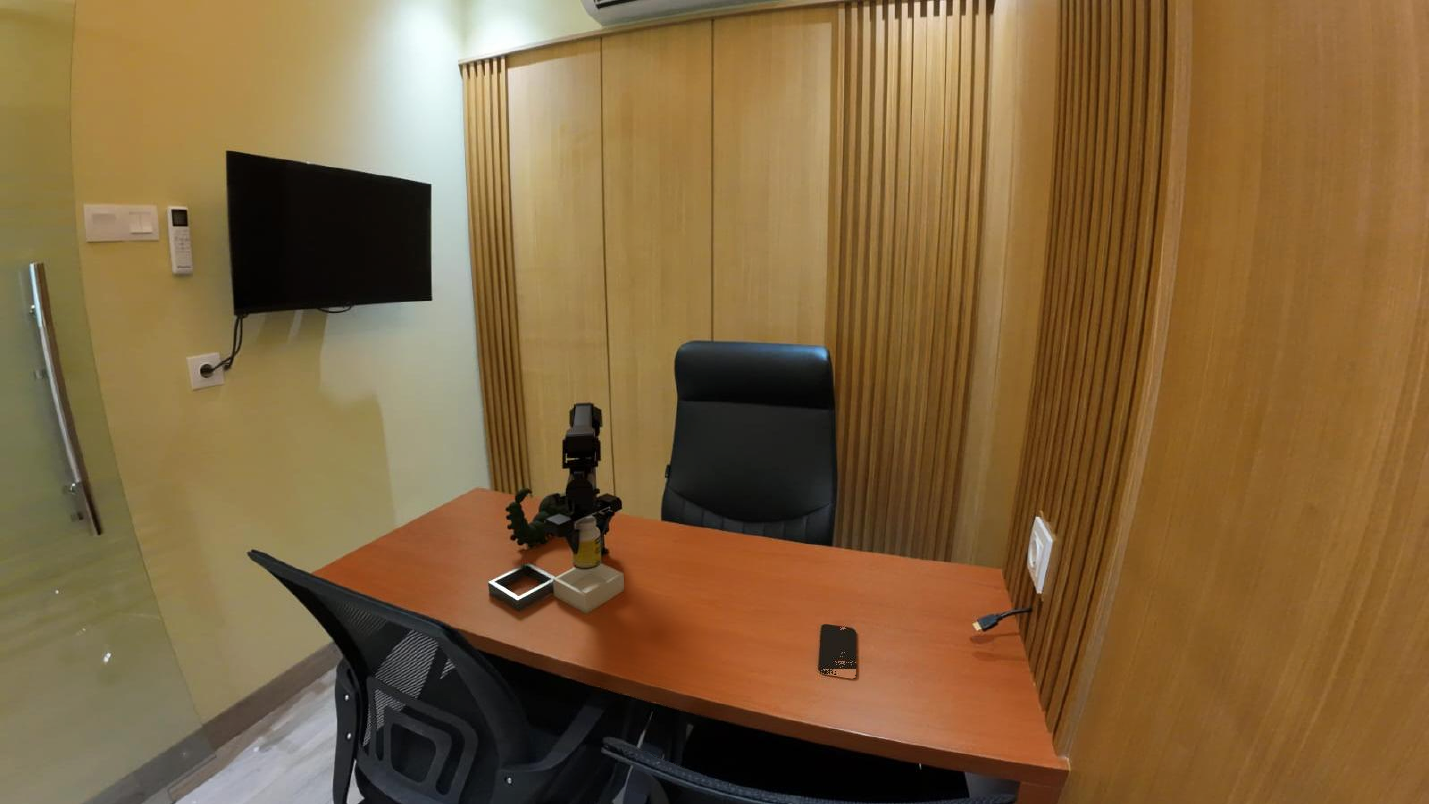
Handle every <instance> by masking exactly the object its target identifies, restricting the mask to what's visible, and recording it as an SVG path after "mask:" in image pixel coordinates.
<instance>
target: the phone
mask: <svg viewBox="0 0 1429 804" xmlns="http://www.w3.org/2000/svg"><path fill="white" fill-rule="evenodd" d="M840 627H841V628H842V627H845V628H846V629H844V630H843V629H842V630H840V629H841V628H840ZM818 650H819V652H818V662H817V663H818V665H817V666H818V667H817V671H818V670H819V671H820V672H822V673H824V674H828V673H829V674H830V671H832V670H833V669H857V670H858V663H857V664H856V663H855V662H856V661H857V659H856V658H858V657H857V656H858V655H857V631H856V629H855V628H854V627H849V626H841V625H837V624H828V623H823V624H822V625H820V635H819V649H818ZM842 652H843V653H842ZM844 652H845V653H844ZM841 653H842V654H841ZM856 655H857V656H856ZM840 656H841V657H840ZM842 656H843V657H842ZM835 661H836V662H837V663H836V662H835ZM838 661H845V663H844V664H845V665H844V664H840V663H841V662H839V663H838ZM852 661H853V662H852ZM846 662H847V663H846ZM848 662H849V663H848ZM850 662H852V663H850ZM857 662H858V661H857ZM842 663H843V662H842ZM836 664H837V665H836ZM839 664H840V665H839ZM851 664H852V665H851ZM842 666H843V667H842ZM840 667H841V668H840ZM823 669H829V670H828V671H829V672H828V671H827V670H825V671H824V670H823ZM830 669H832V670H830ZM821 670H822V671H821ZM819 671H818V672H819ZM827 672H828V673H827ZM835 672H836V671H835ZM831 673H832V674H833V671H832V672H831ZM834 675H836V673H835V674H834Z"/></svg>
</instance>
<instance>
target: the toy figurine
mask: <svg viewBox="0 0 1429 804" xmlns="http://www.w3.org/2000/svg"><path fill="white" fill-rule="evenodd" d="M532 491H533V490H531V489H530V488H527V487H524V488H523V487H522V488H521V489H519V490H518V491H517V492H516V494H514V501H512V502H510V503H509V505H508V506H506V507H505V512H508V514H507V515H506V516H505V520H507V521H510V523H509V524H508V525H507V530H510V531H511V530H513V531H512V532H513V533H512V534H510V535H509V540H510V541H512V542H513V541H514V542H515V541H516V544H517V545H518V546H519V547H522V546H524V545H525V544H526V545H527V547H528V548H529V549H534V548H535V547H536V544H537V543H539V544H540V545H543V546H545V545H546V544H547V543H548V538H547V536H548V535H549V536H550V537H552V538H554V537H555V536H554V535H552V534H550V533H548V532H546V531H544V521H545V520H546V519H548V518H550V517H552V516H555V515H557V514H561V515H563V516H566V517H567V516H570V515H572V512H571V511H570V512H567V511H566V510H565V508H562V509H560V510H557V508H551V507H550V505H549V495H552V494H554V493H555V492H554V493H551V494H547V495H546V496H545V497H543V499H542V500H541V502H540V503H539V506H538V513H536V514H535V515H534V517H533V519H532V521H531V522H529V523H528V520H527V518H526V517H525V516H526V515H525V511H524V510H523V506H522V502H524V500H525V499H526V497H527V496H528V495H529V494H530V495H531V494H532V493H533V492H532ZM556 493H557V492H556ZM556 493H555V494H556Z"/></svg>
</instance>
